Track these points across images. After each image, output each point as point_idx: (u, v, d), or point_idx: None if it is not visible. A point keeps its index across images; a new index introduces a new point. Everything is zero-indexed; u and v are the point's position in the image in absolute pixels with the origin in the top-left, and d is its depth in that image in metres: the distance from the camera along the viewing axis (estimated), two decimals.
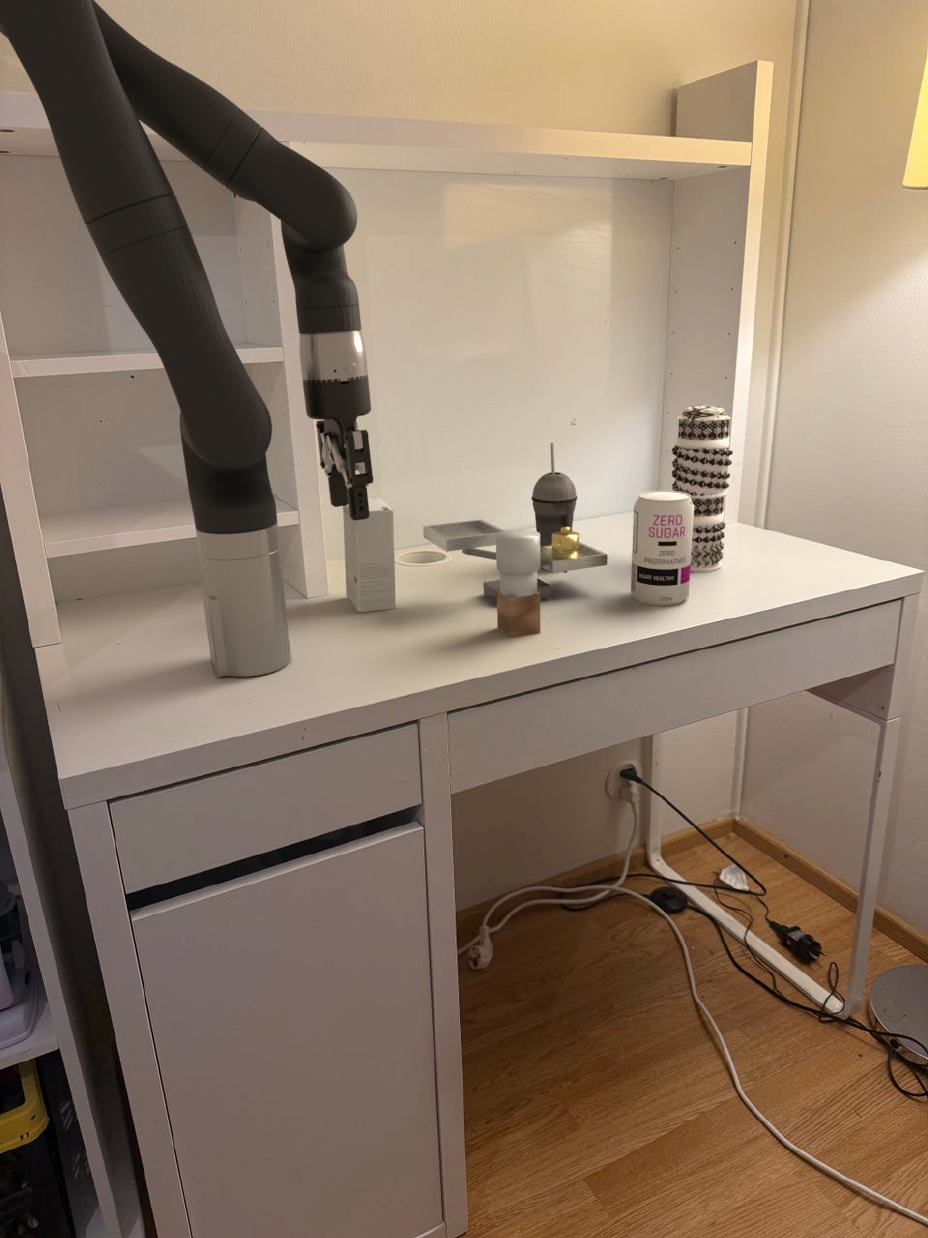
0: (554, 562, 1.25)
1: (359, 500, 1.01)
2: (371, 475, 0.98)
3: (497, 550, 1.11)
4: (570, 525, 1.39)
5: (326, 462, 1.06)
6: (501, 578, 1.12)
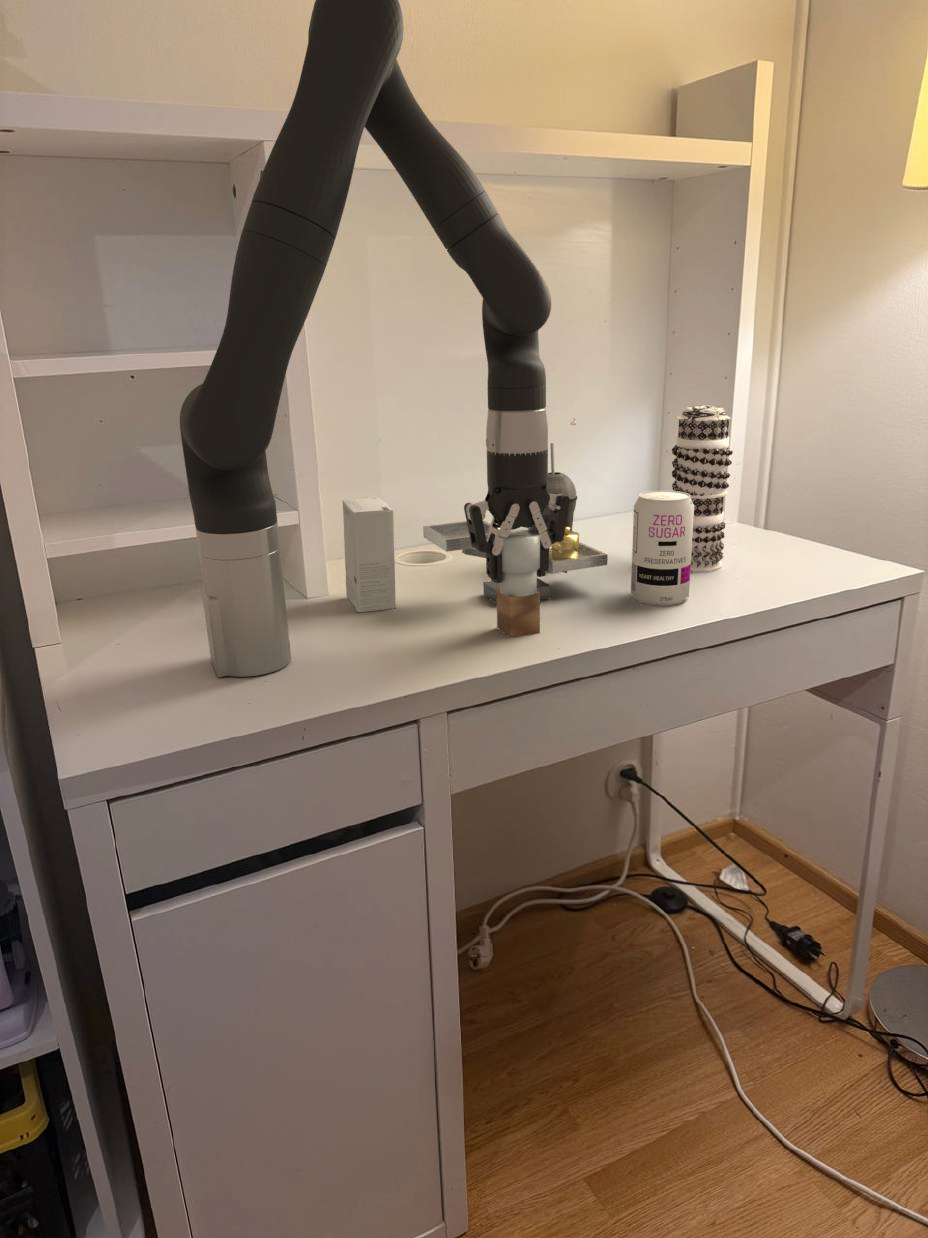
0: (554, 562, 1.25)
1: None
2: None
3: None
4: (570, 525, 1.39)
5: (507, 536, 1.09)
6: None
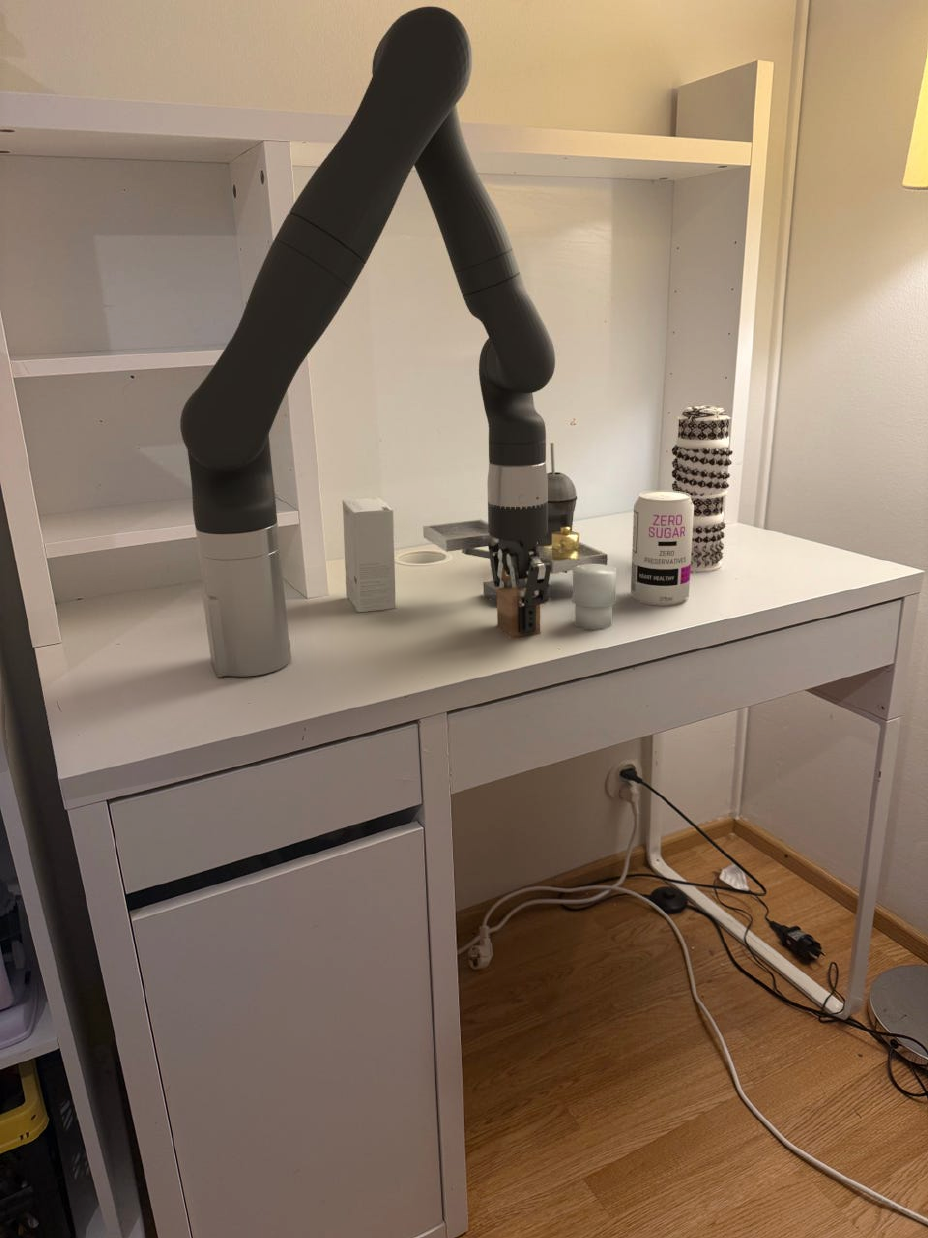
0: (554, 562, 1.25)
1: None
2: (494, 580, 1.18)
3: (603, 588, 1.13)
4: (570, 525, 1.39)
5: None
6: (602, 614, 1.14)
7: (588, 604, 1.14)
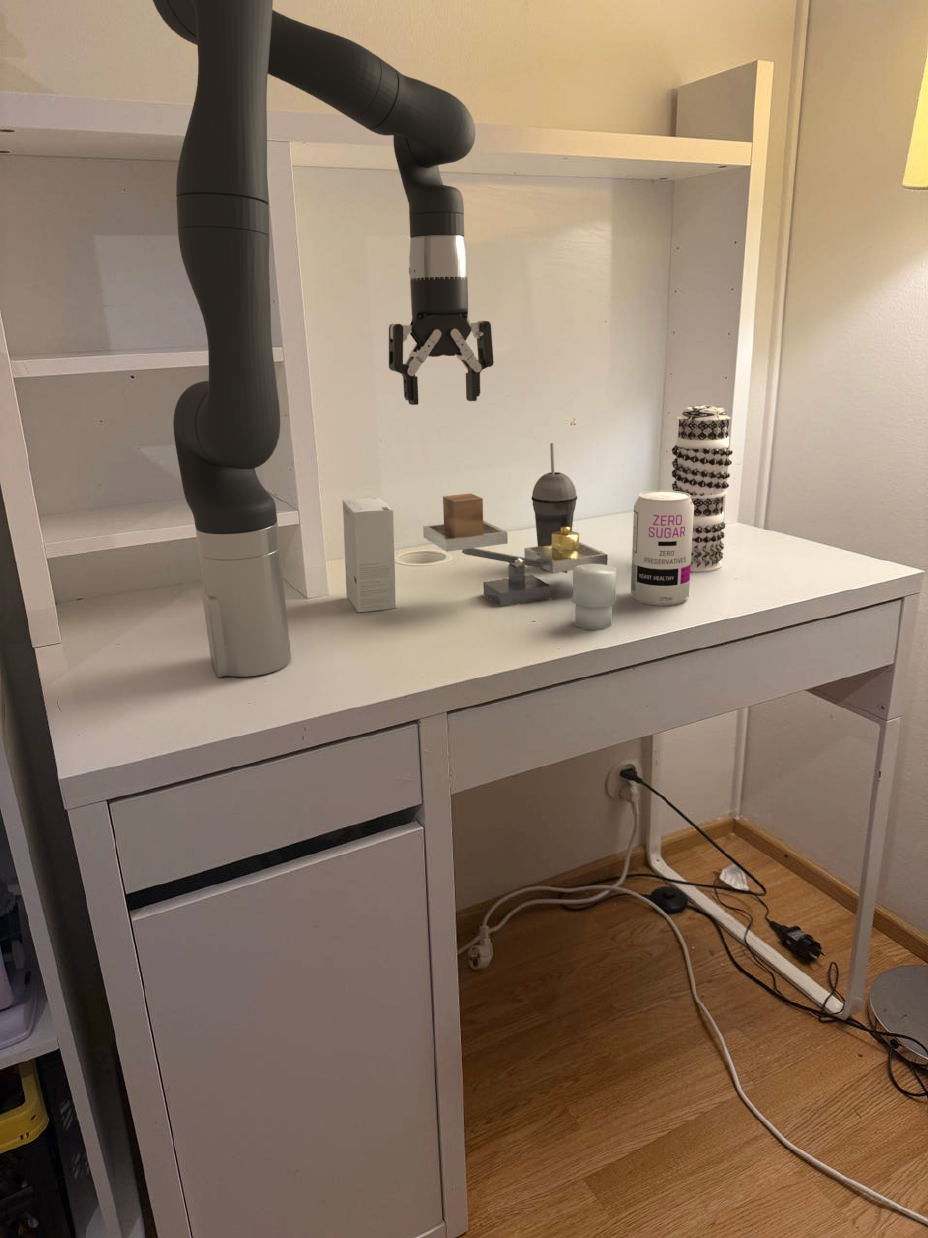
0: (554, 562, 1.25)
1: None
2: None
3: (603, 588, 1.13)
4: (570, 525, 1.39)
5: (424, 359, 1.16)
6: (602, 614, 1.14)
7: (588, 604, 1.14)
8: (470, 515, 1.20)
